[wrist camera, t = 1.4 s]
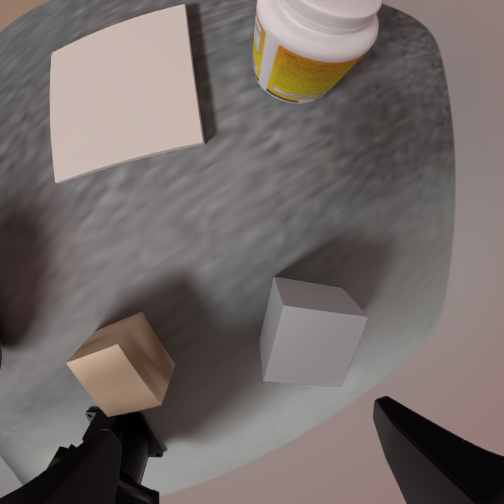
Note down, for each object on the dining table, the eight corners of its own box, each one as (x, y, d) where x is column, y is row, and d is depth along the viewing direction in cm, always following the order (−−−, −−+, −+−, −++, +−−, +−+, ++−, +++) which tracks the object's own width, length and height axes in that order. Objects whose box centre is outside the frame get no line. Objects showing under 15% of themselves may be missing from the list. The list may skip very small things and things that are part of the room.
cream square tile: (205, 144, 18) (203, 142, 17) (62, 182, 18) (55, 183, 17) (187, 10, 15) (184, 4, 14) (58, 56, 15) (51, 53, 14)
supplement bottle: (348, 85, 17) (426, 20, 7) (282, 120, 17) (322, 55, 8) (302, 26, 16) (341, -66, 6) (235, 57, 16) (230, -41, 6)
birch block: (175, 364, 21) (161, 405, 16) (127, 379, 22) (107, 416, 17) (142, 310, 20) (117, 344, 15) (95, 330, 20) (66, 362, 16)
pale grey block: (322, 347, 21) (341, 387, 16) (258, 339, 21) (263, 381, 16) (341, 287, 20) (368, 316, 15) (273, 276, 20) (283, 305, 15)
